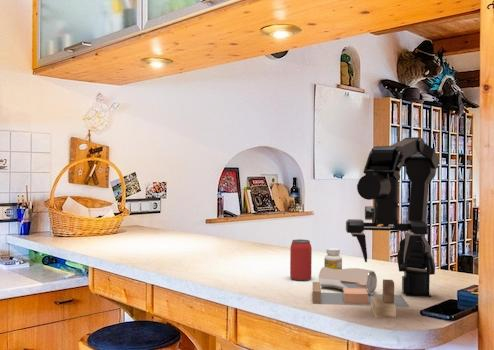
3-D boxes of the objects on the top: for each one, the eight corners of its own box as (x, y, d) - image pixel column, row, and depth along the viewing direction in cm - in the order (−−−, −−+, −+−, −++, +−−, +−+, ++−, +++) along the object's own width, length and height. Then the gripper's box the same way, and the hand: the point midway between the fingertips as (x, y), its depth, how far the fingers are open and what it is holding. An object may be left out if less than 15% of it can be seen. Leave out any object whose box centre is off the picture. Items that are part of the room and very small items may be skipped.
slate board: (401, 296, 144) (401, 284, 144) (409, 308, 132) (409, 294, 132) (312, 293, 147) (312, 281, 147) (312, 304, 135) (313, 291, 135)
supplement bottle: (345, 280, 164) (345, 249, 164) (334, 282, 160) (334, 251, 160) (331, 277, 168) (331, 247, 168) (320, 279, 164) (321, 248, 164)
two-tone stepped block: (389, 309, 132) (390, 277, 131) (395, 319, 123) (396, 285, 122) (371, 308, 132) (371, 276, 132) (375, 318, 123) (376, 284, 123)
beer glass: (331, 279, 157) (379, 285, 148) (321, 294, 152) (370, 300, 143) (325, 260, 155) (373, 264, 146) (315, 274, 150) (364, 280, 141)
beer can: (290, 276, 169) (290, 239, 169) (311, 276, 168) (311, 239, 168) (290, 280, 162) (290, 241, 162) (311, 281, 162) (311, 242, 162)
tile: (365, 298, 141) (365, 288, 141) (368, 303, 135) (368, 294, 135) (342, 297, 141) (342, 288, 141) (344, 303, 135) (344, 293, 135)
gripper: (419, 196, 134) (418, 257, 135) (344, 195, 137) (344, 255, 137) (428, 199, 123) (428, 266, 124) (347, 198, 126) (346, 263, 126)
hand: (385, 262), depth 128 cm, fingers open, 9 cm apart
